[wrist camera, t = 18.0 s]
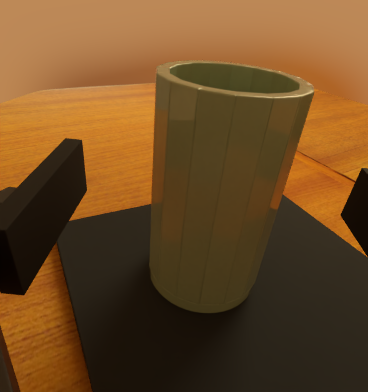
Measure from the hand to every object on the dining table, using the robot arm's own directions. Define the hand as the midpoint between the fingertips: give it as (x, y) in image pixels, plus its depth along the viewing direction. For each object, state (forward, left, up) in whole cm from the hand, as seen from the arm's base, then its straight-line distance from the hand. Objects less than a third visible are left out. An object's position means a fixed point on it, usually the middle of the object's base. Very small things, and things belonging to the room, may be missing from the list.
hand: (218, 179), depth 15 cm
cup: (+1, +1, -7) cm, 8 cm away
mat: (+3, 0, -8) cm, 9 cm away
